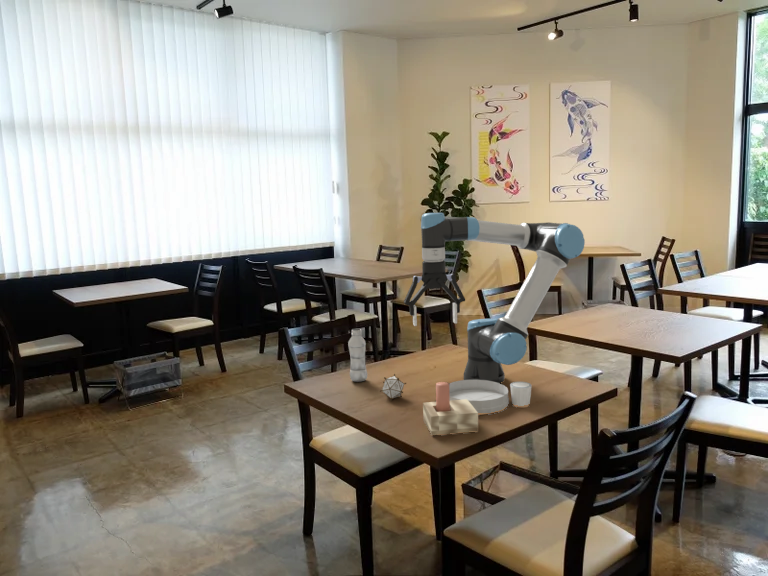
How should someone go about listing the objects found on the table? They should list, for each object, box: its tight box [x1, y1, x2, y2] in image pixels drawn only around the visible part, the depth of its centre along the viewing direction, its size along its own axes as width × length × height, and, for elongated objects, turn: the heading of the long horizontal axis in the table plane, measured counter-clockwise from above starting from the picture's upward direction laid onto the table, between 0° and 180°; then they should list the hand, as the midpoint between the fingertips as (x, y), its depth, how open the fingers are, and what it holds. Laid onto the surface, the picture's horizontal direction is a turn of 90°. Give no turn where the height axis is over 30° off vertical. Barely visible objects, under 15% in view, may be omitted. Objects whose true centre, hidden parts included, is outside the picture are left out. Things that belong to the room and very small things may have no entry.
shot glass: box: [509, 381, 533, 406], centre depth 200 cm, size 7×7×7 cm
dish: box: [448, 379, 510, 413], centre depth 203 cm, size 22×22×5 cm
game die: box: [379, 373, 407, 402], centre depth 210 cm, size 9×8×10 cm
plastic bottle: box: [347, 328, 368, 383], centre depth 230 cm, size 6×7×20 cm
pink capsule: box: [435, 381, 450, 412], centre depth 183 cm, size 4×4×12 cm
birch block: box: [422, 399, 479, 436], centre depth 184 cm, size 14×12×6 cm
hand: (435, 324), depth 203 cm, fingers open, 13 cm apart
